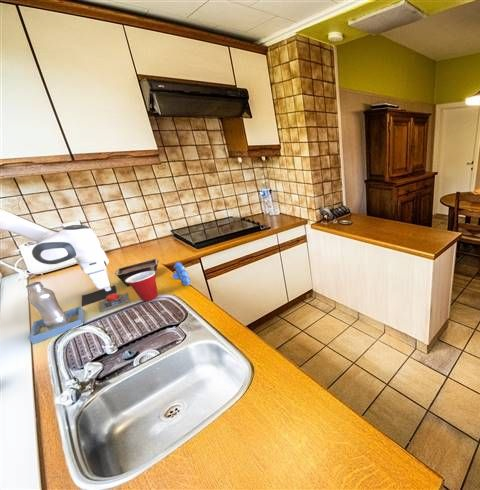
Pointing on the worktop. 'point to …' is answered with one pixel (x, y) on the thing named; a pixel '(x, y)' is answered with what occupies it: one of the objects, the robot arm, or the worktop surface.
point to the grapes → (181, 274)
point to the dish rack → (39, 337)
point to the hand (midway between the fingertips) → (108, 289)
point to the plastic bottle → (47, 305)
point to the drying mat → (97, 296)
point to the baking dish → (136, 269)
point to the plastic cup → (144, 285)
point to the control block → (114, 302)
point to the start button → (112, 296)
